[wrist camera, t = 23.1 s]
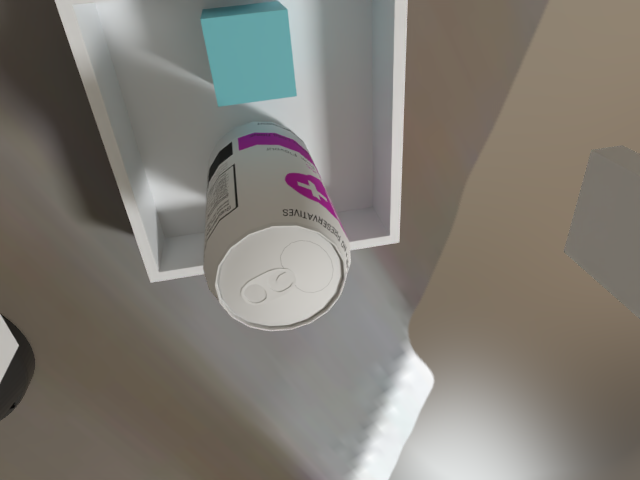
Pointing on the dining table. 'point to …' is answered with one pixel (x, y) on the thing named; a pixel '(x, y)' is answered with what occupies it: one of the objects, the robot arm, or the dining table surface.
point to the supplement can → (271, 230)
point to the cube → (249, 52)
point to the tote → (241, 112)
